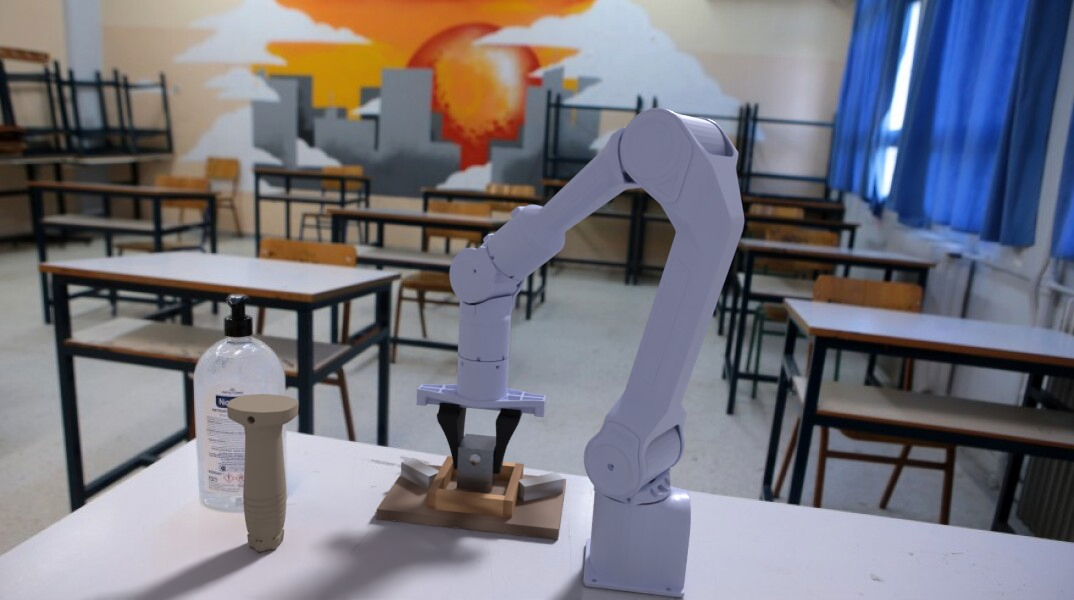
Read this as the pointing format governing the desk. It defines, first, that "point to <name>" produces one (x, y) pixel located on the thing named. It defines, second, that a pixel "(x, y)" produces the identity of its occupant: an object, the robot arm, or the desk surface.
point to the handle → (264, 464)
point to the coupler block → (476, 463)
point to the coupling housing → (476, 500)
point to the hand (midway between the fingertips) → (478, 468)
